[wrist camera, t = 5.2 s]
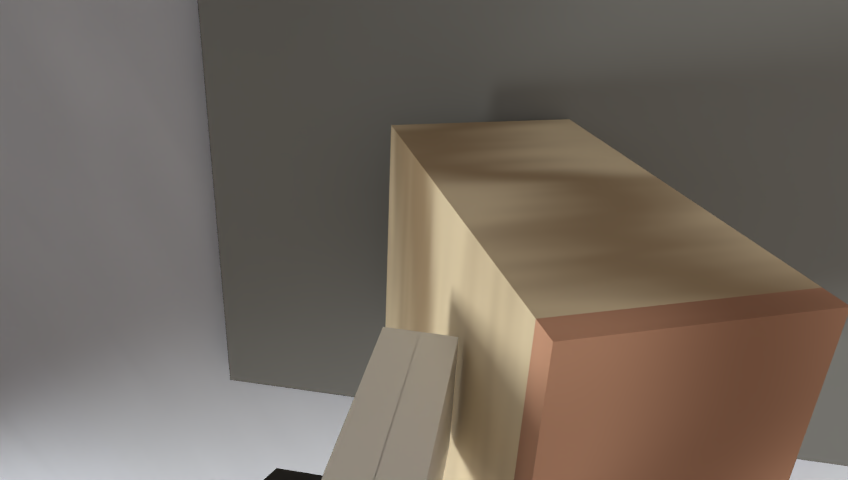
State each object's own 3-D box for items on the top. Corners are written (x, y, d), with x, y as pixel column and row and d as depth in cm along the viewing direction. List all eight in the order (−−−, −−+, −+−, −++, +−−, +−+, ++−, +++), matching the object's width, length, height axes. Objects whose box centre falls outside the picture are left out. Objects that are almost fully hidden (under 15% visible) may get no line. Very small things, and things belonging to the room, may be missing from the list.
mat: (236, 369, 26) (230, 379, 26) (197, -124, 19) (186, -125, 19) (947, 467, 23) (956, 481, 23) (1206, -71, 16) (1229, -70, 16)
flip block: (384, 351, 22) (503, 668, 13) (391, 125, 18) (552, 341, 10) (538, 334, 23) (742, 611, 14) (569, 119, 20) (850, 306, 11)
